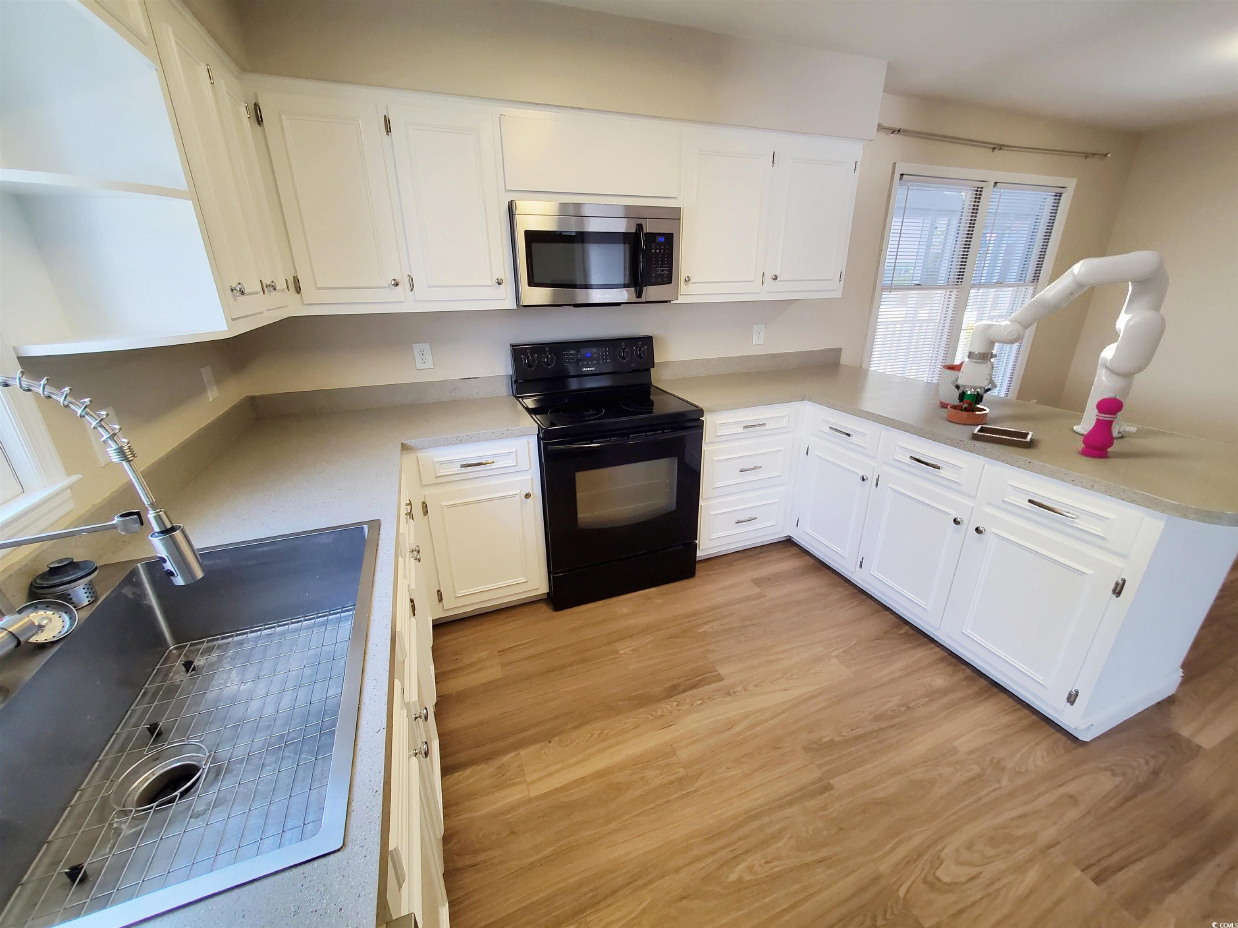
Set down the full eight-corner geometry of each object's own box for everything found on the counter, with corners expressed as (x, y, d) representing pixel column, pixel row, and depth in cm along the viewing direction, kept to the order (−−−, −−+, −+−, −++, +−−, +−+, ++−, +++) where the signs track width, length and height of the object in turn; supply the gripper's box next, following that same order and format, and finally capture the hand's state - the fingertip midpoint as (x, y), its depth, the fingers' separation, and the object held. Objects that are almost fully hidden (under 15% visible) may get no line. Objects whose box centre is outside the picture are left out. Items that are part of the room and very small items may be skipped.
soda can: (975, 421, 191) (982, 391, 187) (961, 421, 192) (967, 391, 188) (969, 418, 196) (976, 388, 192) (955, 417, 197) (962, 388, 193)
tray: (1031, 439, 171) (1033, 432, 170) (1026, 448, 164) (1029, 441, 163) (977, 431, 181) (979, 424, 180) (971, 439, 174) (972, 432, 173)
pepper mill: (1077, 449, 161) (1096, 389, 154) (1108, 453, 157) (1129, 391, 149) (1078, 455, 156) (1098, 393, 149) (1109, 460, 151) (1131, 396, 144)
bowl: (988, 419, 194) (991, 407, 193) (982, 427, 186) (985, 414, 184) (949, 414, 203) (952, 402, 201) (942, 421, 194) (944, 409, 192)
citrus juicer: (989, 407, 210) (1000, 360, 202) (960, 413, 204) (971, 364, 197) (953, 400, 223) (963, 355, 216) (926, 405, 217) (935, 359, 210)
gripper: (1009, 356, 182) (997, 404, 189) (955, 353, 193) (946, 398, 200) (1006, 359, 177) (994, 408, 184) (951, 355, 188) (941, 402, 195)
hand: (969, 402), depth 192 cm, fingers closed on soda can, 5 cm apart
